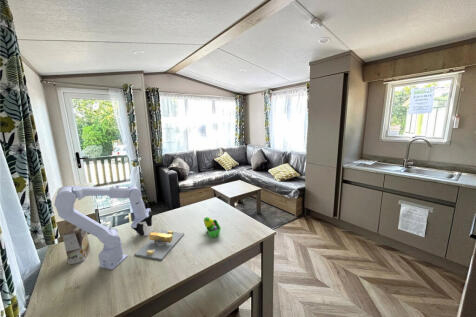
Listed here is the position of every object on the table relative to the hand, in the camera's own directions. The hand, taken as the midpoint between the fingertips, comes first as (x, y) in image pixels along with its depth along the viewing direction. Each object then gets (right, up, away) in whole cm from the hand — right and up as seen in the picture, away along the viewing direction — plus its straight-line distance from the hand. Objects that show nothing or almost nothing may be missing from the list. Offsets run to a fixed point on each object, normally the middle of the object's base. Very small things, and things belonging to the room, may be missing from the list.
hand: (146, 230), depth 102 cm
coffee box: (-32, -12, -5) cm, 34 cm away
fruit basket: (+34, -7, +14) cm, 37 cm away
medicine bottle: (-8, -7, +16) cm, 19 cm away
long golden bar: (+7, -7, +4) cm, 10 cm away
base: (+7, -9, +4) cm, 12 cm away
